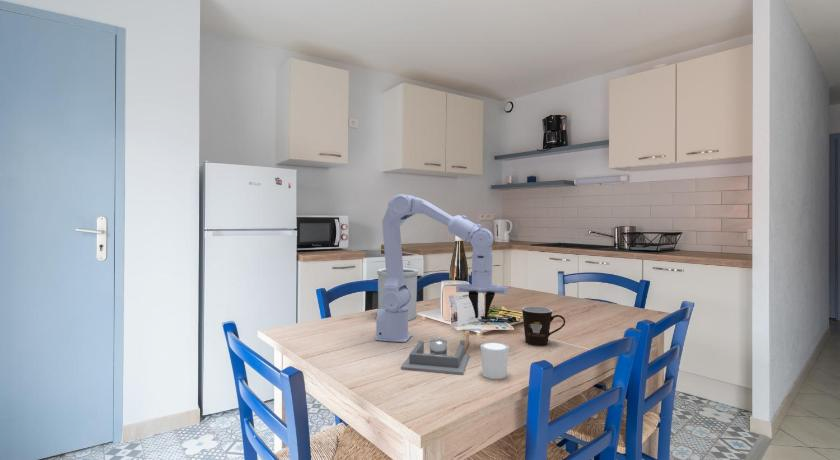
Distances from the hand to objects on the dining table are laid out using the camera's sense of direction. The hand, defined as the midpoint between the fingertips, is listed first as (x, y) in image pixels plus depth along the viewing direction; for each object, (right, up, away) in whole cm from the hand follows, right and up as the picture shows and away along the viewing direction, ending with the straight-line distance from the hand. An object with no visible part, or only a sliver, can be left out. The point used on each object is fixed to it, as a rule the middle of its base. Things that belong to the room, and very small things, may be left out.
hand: (481, 317), depth 126 cm
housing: (-13, -9, -13) cm, 21 cm away
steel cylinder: (-13, -9, -11) cm, 19 cm away
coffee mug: (+18, -9, +3) cm, 20 cm away
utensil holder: (-26, -7, +35) cm, 44 cm away
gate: (-5, -8, -1) cm, 10 cm away
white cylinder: (0, -10, -21) cm, 23 cm away
